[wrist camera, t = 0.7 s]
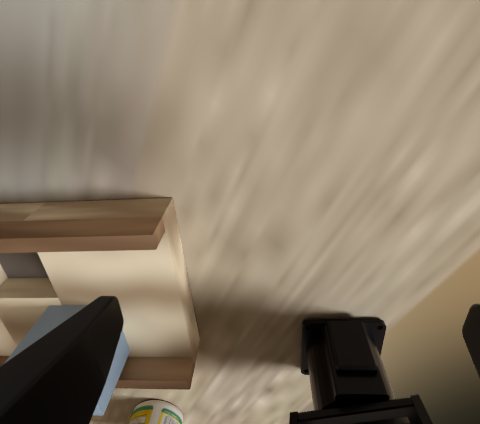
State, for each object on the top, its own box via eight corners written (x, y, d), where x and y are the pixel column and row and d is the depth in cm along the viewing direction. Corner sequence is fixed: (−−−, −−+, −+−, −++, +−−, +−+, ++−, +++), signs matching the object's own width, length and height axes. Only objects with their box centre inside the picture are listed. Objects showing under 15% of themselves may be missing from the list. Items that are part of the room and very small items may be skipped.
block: (130, 350, 26) (103, 415, 22) (70, 350, 27) (33, 413, 22) (113, 305, 24) (80, 367, 19) (48, 305, 24) (1, 366, 20)
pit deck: (200, 340, 29) (189, 389, 25) (-11, 339, 30) (-52, 384, 27) (172, 197, 22) (152, 234, 18) (-98, 207, 24) (-169, 243, 20)
